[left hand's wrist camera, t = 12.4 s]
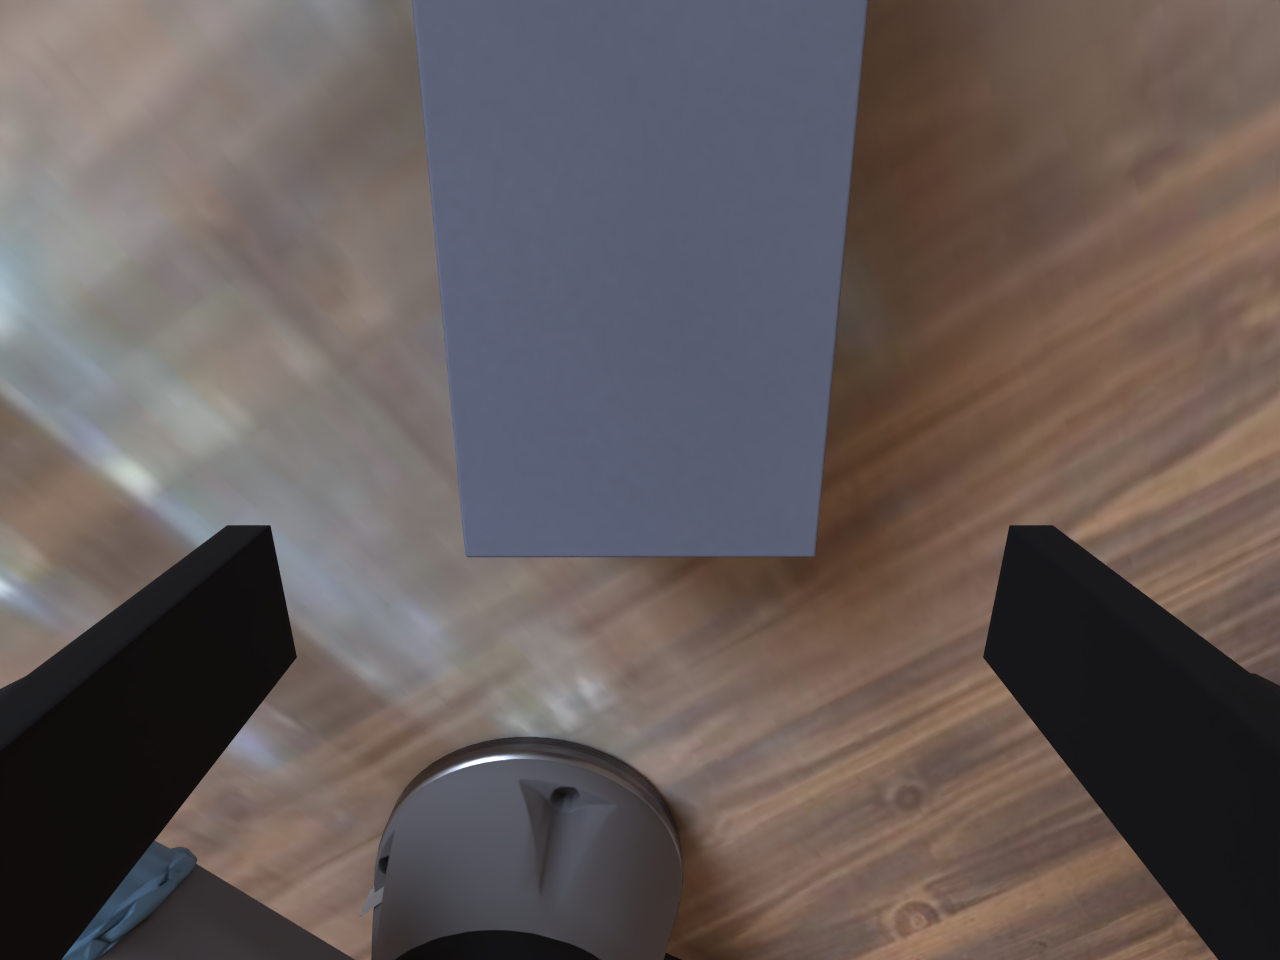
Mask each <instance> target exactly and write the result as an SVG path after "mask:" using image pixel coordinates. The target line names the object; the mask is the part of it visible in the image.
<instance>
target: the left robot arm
mask: <svg viewBox="0 0 1280 960" xmlns="http://www.w3.org/2000/svg"><path fill="white" fill-rule="evenodd" d="M296 658H297V656H296V651H295V646H294V641H293V636H292V631H291V626H290V621H289V616H288V611H287V606H286V601H285V596H284V591H283V586H282V581H281V576H280V571H279V566H278V561H277V556H276V551H275V546H274V541H273V536H272V531H271V526H270V525H227V526H226V527H225V528H223V529H222V530H221V531H219V532H218V533H217V534H215V535H214V536H213V537H211V538H210V539H209V540H207V541H206V542H205V543H203V544H202V545H200V546H199V547H198V548H196V549H195V550H194V551H192V552H191V553H190V554H188V555H187V556H186V557H184V558H183V559H182V560H180V561H179V562H178V563H176V564H175V565H174V566H172V567H171V568H170V569H168V570H167V571H166V572H164V573H163V574H162V575H160V576H159V577H158V578H156V579H155V580H154V581H152V582H151V583H150V584H148V585H147V586H146V587H144V588H143V589H142V590H140V591H139V592H138V593H136V594H135V595H134V596H132V597H131V598H130V599H128V600H127V601H126V602H124V603H123V604H122V605H120V606H119V607H118V608H116V609H115V610H114V611H112V612H111V613H110V614H108V615H107V616H106V617H104V618H103V619H102V620H100V621H99V622H98V623H96V624H95V625H94V626H92V627H91V628H90V629H88V630H87V631H86V632H84V633H83V634H82V635H80V636H79V637H78V638H76V639H75V640H74V641H72V642H71V643H70V644H68V645H67V646H66V647H64V648H63V649H62V650H60V651H59V652H58V653H56V654H55V655H54V656H52V657H51V658H50V659H48V660H47V661H46V662H44V663H43V664H42V665H40V666H39V667H38V668H36V669H35V670H34V671H32V672H31V673H30V674H28V675H27V676H25V677H23V678H21V679H19V680H17V681H15V682H13V683H11V684H9V685H7V686H5V687H3V688H1V689H0V960H354V959H353V958H351V957H349V956H348V955H346V954H344V953H343V952H341V951H339V950H338V949H336V948H335V947H333V946H331V945H330V944H328V943H326V942H325V941H323V940H321V939H320V938H318V937H316V936H315V935H313V934H311V933H310V932H308V931H306V930H305V929H303V928H301V927H300V926H298V925H296V924H295V923H293V922H292V921H290V920H288V919H287V918H285V917H283V916H282V915H280V914H278V913H277V912H275V911H273V910H272V909H270V908H268V907H267V906H265V905H263V904H262V903H260V902H258V901H257V900H255V899H253V898H252V897H250V896H249V895H247V894H245V893H244V892H242V891H240V890H239V889H237V888H235V887H234V886H232V885H230V884H229V883H227V882H225V881H224V880H222V879H220V878H219V877H217V876H215V875H214V874H212V873H210V872H209V871H207V870H206V869H204V868H202V867H201V866H199V865H197V864H196V862H197V858H196V856H195V855H194V854H193V853H192V852H191V851H190V850H189V849H187V848H184V847H176V848H172V849H170V848H168V847H166V846H164V845H162V844H160V843H158V842H156V841H154V840H155V839H156V838H157V836H158V835H159V834H160V832H161V831H162V830H163V829H164V827H165V826H166V825H167V823H168V822H169V821H170V820H171V818H172V817H173V816H174V814H175V813H176V812H177V811H178V809H179V808H180V807H181V805H182V804H183V803H184V802H185V800H186V799H187V798H188V796H189V795H190V794H191V793H192V791H193V790H194V789H195V787H196V786H197V785H198V784H199V782H200V781H201V780H202V778H203V777H204V776H205V775H206V773H207V772H208V771H209V769H210V768H211V767H212V766H213V764H214V763H215V762H216V760H217V759H218V758H219V757H220V755H221V754H222V753H223V751H224V750H225V749H226V748H227V746H228V745H229V744H230V742H231V741H232V740H233V739H234V737H235V736H236V735H237V733H238V732H239V731H240V730H241V728H242V727H243V726H244V724H245V723H246V722H247V721H248V719H249V718H250V717H251V715H252V714H253V713H254V712H255V710H256V709H257V708H258V706H259V705H260V704H261V703H262V701H263V700H264V699H265V697H266V696H267V695H268V694H269V692H270V691H271V690H272V688H273V687H274V686H275V685H276V683H277V682H278V681H279V679H280V678H281V677H282V676H283V674H284V673H285V672H286V670H287V669H288V668H289V667H290V665H291V664H292V663H293V661H294V660H295V659H296ZM983 658H984V659H985V660H986V661H987V663H988V664H989V665H990V667H991V668H992V669H993V670H994V672H995V673H996V674H997V676H998V677H999V678H1000V679H1001V681H1002V682H1003V683H1004V685H1005V686H1006V687H1007V688H1008V690H1009V691H1010V692H1011V694H1012V695H1013V696H1014V697H1015V699H1016V700H1017V701H1018V703H1019V704H1020V705H1021V706H1022V708H1023V709H1024V710H1025V712H1026V713H1027V714H1028V715H1029V717H1030V718H1031V719H1032V721H1033V722H1034V723H1035V724H1036V726H1037V727H1038V728H1039V730H1040V731H1041V732H1042V733H1043V735H1044V736H1045V737H1046V739H1047V740H1048V741H1049V742H1050V744H1051V745H1052V746H1053V748H1054V749H1055V750H1056V751H1057V753H1058V754H1059V755H1060V757H1061V758H1062V759H1063V760H1064V762H1065V763H1066V764H1067V766H1068V767H1069V768H1070V769H1071V771H1072V772H1073V773H1074V775H1075V776H1076V777H1077V778H1078V780H1079V781H1080V782H1081V784H1082V785H1083V786H1084V787H1085V789H1086V790H1087V791H1088V793H1089V794H1090V795H1091V796H1092V798H1093V799H1094V800H1095V802H1096V803H1097V804H1098V805H1099V807H1100V808H1101V809H1102V811H1103V812H1104V813H1105V814H1106V816H1107V817H1108V818H1109V820H1110V821H1111V822H1112V823H1113V825H1114V826H1115V827H1116V829H1117V830H1118V831H1119V832H1120V834H1121V835H1122V836H1123V838H1124V839H1125V840H1126V841H1127V843H1128V844H1129V845H1130V847H1131V848H1132V849H1133V850H1134V852H1135V853H1136V854H1137V856H1138V857H1139V858H1140V859H1141V861H1142V862H1143V863H1144V865H1145V866H1146V867H1147V868H1148V870H1149V871H1150V872H1151V874H1152V875H1153V876H1154V877H1155V879H1156V880H1157V881H1158V883H1159V884H1160V885H1161V886H1162V888H1163V889H1164V890H1165V892H1166V893H1167V894H1168V895H1169V897H1170V898H1171V899H1172V901H1173V902H1174V903H1175V904H1176V906H1177V907H1178V908H1179V910H1180V911H1181V912H1182V913H1183V915H1184V916H1185V917H1186V919H1187V920H1188V921H1189V922H1190V924H1191V925H1192V926H1193V928H1194V929H1195V930H1196V931H1197V933H1198V934H1199V935H1200V937H1201V938H1202V939H1203V940H1204V942H1205V943H1206V944H1207V946H1208V947H1209V948H1210V949H1211V951H1212V952H1213V953H1214V955H1215V956H1216V957H1217V958H1218V960H1280V686H1279V685H1277V684H1275V683H1273V682H1271V681H1269V680H1267V679H1265V678H1263V677H1261V676H1259V675H1257V674H1250V673H1249V672H1248V671H1246V670H1245V669H1244V668H1242V667H1241V666H1240V665H1238V664H1237V663H1236V662H1234V661H1233V660H1232V659H1230V658H1229V657H1228V656H1226V655H1225V654H1224V653H1222V652H1221V651H1220V650H1218V649H1217V648H1216V647H1214V646H1213V645H1212V644H1210V643H1209V642H1208V641H1206V640H1205V639H1204V638H1202V637H1201V636H1200V635H1198V634H1197V633H1196V632H1194V631H1193V630H1192V629H1190V628H1189V627H1188V626H1186V625H1185V624H1184V623H1182V622H1181V621H1180V620H1178V619H1177V618H1176V617H1174V616H1173V615H1172V614H1170V613H1169V612H1168V611H1166V610H1165V609H1164V608H1162V607H1161V606H1160V605H1158V604H1157V603H1156V602H1154V601H1153V600H1152V599H1150V598H1149V597H1148V596H1146V595H1145V594H1144V593H1142V592H1141V591H1140V590H1138V589H1137V588H1136V587H1134V586H1133V585H1132V584H1130V583H1129V582H1128V581H1126V580H1125V579H1124V578H1122V577H1121V576H1120V575H1118V574H1117V573H1116V572H1114V571H1113V570H1112V569H1110V568H1109V567H1108V566H1106V565H1105V564H1104V563H1102V562H1101V561H1100V560H1098V559H1097V558H1096V557H1094V556H1093V555H1092V554H1090V553H1089V552H1088V551H1086V550H1085V549H1084V548H1082V547H1081V546H1079V545H1078V544H1077V543H1075V542H1074V541H1073V540H1071V539H1070V538H1069V537H1067V536H1066V535H1065V534H1063V533H1062V532H1061V531H1059V530H1058V529H1057V528H1055V527H1054V526H1053V525H1010V526H1009V531H1008V536H1007V541H1006V546H1005V551H1004V556H1003V561H1002V566H1001V571H1000V576H999V581H998V586H997V591H996V596H995V601H994V606H993V611H992V616H991V621H990V626H989V631H988V636H987V641H986V646H985V651H984V656H983ZM682 883H683V870H682V855H681V844H680V837H679V833H678V829H677V826H676V823H675V821H674V818H673V816H672V814H671V812H670V810H669V808H668V807H667V805H666V803H665V802H664V801H663V799H662V798H661V796H660V795H659V794H658V793H657V791H656V790H655V789H654V788H653V787H652V786H651V785H650V784H649V783H648V782H647V781H646V780H645V779H644V778H643V777H642V776H640V775H639V774H638V773H636V772H635V771H634V770H632V769H631V768H630V767H628V766H626V765H625V764H623V763H622V762H620V761H618V760H617V759H615V758H613V757H611V756H609V755H607V754H605V753H602V752H600V751H597V750H595V749H592V748H589V747H586V746H583V745H580V744H576V743H572V742H568V741H563V740H557V739H550V738H539V737H513V738H502V739H496V740H490V741H485V742H481V743H477V744H473V745H470V746H467V747H465V748H462V749H459V750H457V751H454V752H452V753H450V754H448V755H446V756H444V757H442V758H441V759H439V760H437V761H436V762H434V763H432V764H431V765H430V766H428V767H427V768H426V769H424V770H423V771H422V772H421V773H420V774H418V775H417V776H416V777H415V778H414V779H413V780H412V781H411V782H410V784H409V785H408V786H407V787H406V788H405V790H404V791H403V793H402V794H401V796H400V797H399V799H398V800H397V802H396V804H395V806H394V808H393V811H392V813H391V815H390V818H389V820H388V823H387V825H386V827H385V830H384V832H383V835H382V838H381V841H380V845H379V850H378V855H377V859H376V865H375V878H374V887H373V888H372V889H370V892H369V894H368V897H367V899H366V902H365V905H364V907H363V910H362V912H361V915H360V917H361V916H362V915H364V914H365V913H366V912H368V911H369V910H371V909H372V908H374V914H373V930H372V958H371V960H681V959H678V958H676V957H674V956H672V955H669V954H667V953H666V950H667V946H668V942H669V939H670V935H671V931H672V927H673V925H674V923H675V920H676V917H677V913H678V909H679V905H680V898H681V890H682Z"/></svg>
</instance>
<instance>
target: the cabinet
mask: <svg viewBox="0 0 1280 960" xmlns="http://www.w3.org/2000/svg"><path fill="white" fill-rule="evenodd" d="M412 2H413V12H414V22H415V33H416V43H417V54H418V64H419V75H420V85H421V95H422V106H423V116H424V127H425V137H426V148H427V158H428V168H429V179H430V189H431V200H432V210H433V221H434V231H435V241H436V252H437V262H438V273H439V283H440V293H441V304H442V314H443V325H444V335H445V346H446V356H447V366H448V377H449V387H450V398H451V408H452V419H453V429H454V439H455V450H456V460H457V471H458V481H459V492H460V502H461V512H462V523H463V533H464V544H465V554H466V556H467V557H814V556H815V553H816V543H817V533H818V522H819V512H820V501H821V491H822V480H823V470H824V459H825V449H826V438H827V428H828V417H829V407H830V397H831V386H832V376H833V365H834V355H835V344H836V334H837V323H838V313H839V302H840V292H841V281H842V271H843V261H844V250H845V240H846V229H847V219H848V208H849V198H850V187H851V177H852V166H853V156H854V145H855V135H856V125H857V114H858V104H859V93H860V83H861V72H862V62H863V51H864V41H865V30H866V20H867V9H868V0H412Z"/></svg>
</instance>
